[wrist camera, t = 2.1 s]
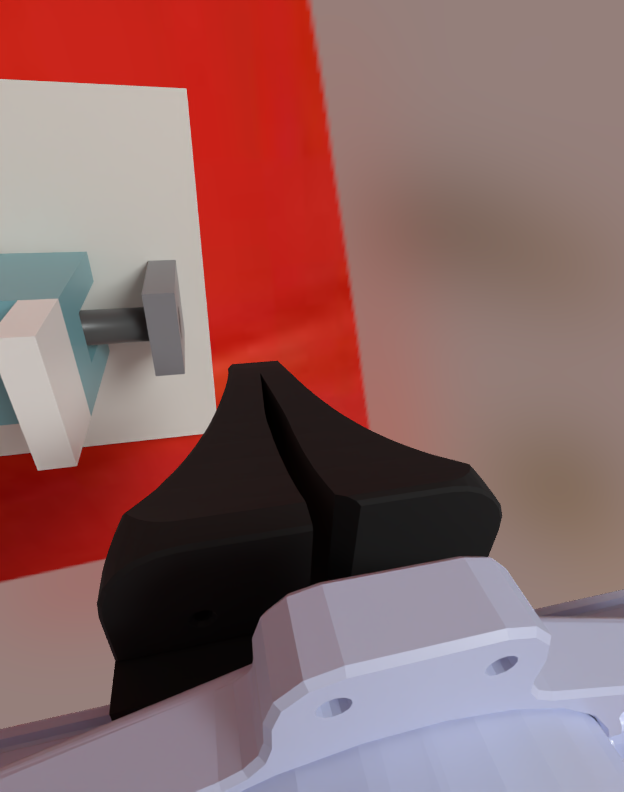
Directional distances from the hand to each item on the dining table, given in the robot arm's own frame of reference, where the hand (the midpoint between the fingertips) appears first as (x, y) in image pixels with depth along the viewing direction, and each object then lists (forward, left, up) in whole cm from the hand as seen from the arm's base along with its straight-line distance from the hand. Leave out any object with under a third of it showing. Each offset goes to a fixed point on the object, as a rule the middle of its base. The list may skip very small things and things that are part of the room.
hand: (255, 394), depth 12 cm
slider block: (0, +7, -7) cm, 10 cm away
